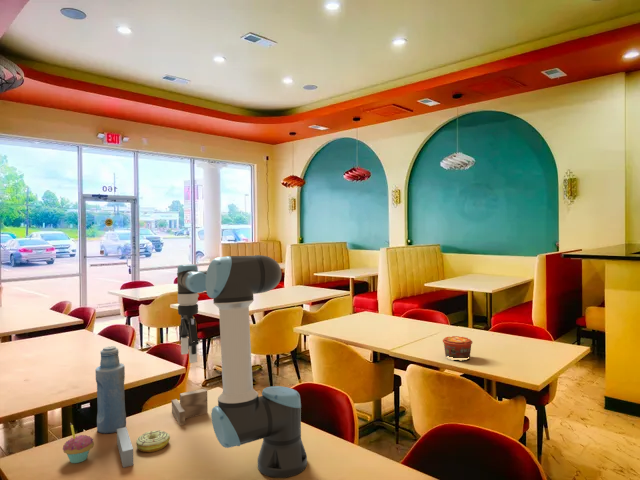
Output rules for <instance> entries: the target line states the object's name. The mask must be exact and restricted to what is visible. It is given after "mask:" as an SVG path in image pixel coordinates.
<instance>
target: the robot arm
mask: <svg viewBox="0 0 640 480" xmlns="http://www.w3.org/2000/svg"><path fill="white" fill-rule="evenodd" d="M176 276H177V304H178V306H177V314H178V315H180V325H179V333H178V334H179V335H180V354H181V355H188V357H189V360H188V361H189V364H194V363H198V345H199V342H200V341H199V336H198V331H197V330H198V329H197V319H196V318H194V315H197V314H198V313H199V304H198V303H199V299H198V298H199V297H200V294H201V293H204V292H206V296H208V297H209V298H211V299H213V305H214V306H216V307H217V309H218V313H219V333H220V355H221V358H220V359H221V377H222V380H221V381H222V392H221V394H220V395H219V396H218V397H217V405H215V406H214V407H213V408H212V409H211V415H210V416H211V417H210V418H211V423H212V424H211V425H212V428H213V431H214V434H215V437H216V439H217V441H218V442H219V444H220V445H221V446H222V447H223V448H227V449H229V448H233V447H240V446H241V445H246V444H249V443H252V442H256V441H259V440H262V443H261V446H260V450H259V453H258V456H257V468H258V471H259V472H260V473H261V474H262V475H265V476H267V477H270V478H274V479H275V478H277V479H278V478H279V479H281V478H283V479H284V478H290V477H294V476H296V475H299V474H300V473H302V472H304V470H305V469H306V467H307V466H308V455H307V452H306V448H305V446H304V443H303V440H302V423H301V422H302V418H301V417H302V416H301V415H302V414H301V413H302V409H301V408H302V403H301V402H302V401H301V395H300V393H299V392H298V391H297V390H296V389H293V388H290V387H286V386H281V385H276V386H273V385H272V386H267V387H265V388H263V389H262V392H261V395H260V396H259V392H257V391H256V390H255V389H254V387H253V383H254V382H253V367H252V366H253V364H252V345H251V342H252V341H251V329H250V328H251V327H250V324H251V323H250V306H251V304H253V302H254V300H255V299H254V295H255V294H262V293H263V294H264V293H266V292H269V291H272V290H274V289H275V288H276V287H277V286H278V285H279V283H280V281H281V280H282V268H281V265H280V264H279V263H278V262H277V260H275V259H274V258H272V257H271V256H268V255H260V254H258V255H257V254H256V255H230V256H229V255H227V256H220V257H215V258H213V259H212V260H211V261H210V263H209V265H208V267H207V270H198V265H197V264H193V263H192V264H191V263H190V264H189V263H188V264H185V263H184V264H180V265H178V266H177V273H176ZM198 293H200V294H198Z"/></svg>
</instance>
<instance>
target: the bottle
mask: <svg viewBox="0 0 640 480" xmlns="http://www.w3.org/2000/svg"><path fill="white" fill-rule="evenodd" d="M119 352H120V351H119V348H117V347H116V346H114V345H113V346H105V347H103V348H102V350H100V363H99V366H97V367H96V368H95V382H96V398H97V399H96V400H97V403H96V404H97V414H96V431H97V432H98V433H100V434H112V433H117V429H119V428H124V427H127V413H126V403H125V402H126V401H125V400H126V399H125V398H126V397H125V379H126V375H125V374H126V373H125V371H126V370H125V365H124V363H121V362H120V358H119V357H120V356H119Z"/></svg>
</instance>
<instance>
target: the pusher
mask: <svg viewBox="0 0 640 480" xmlns="http://www.w3.org/2000/svg"><path fill="white" fill-rule="evenodd" d="M208 412H209V411H208V389H206V388H201V389H197V390H191V391H185V392H182V393H181V392H180V393H179V400H178V399H177V398H175V399H171V414H172V415H173V417H174V419H175V420H176V422H177V423H178V425H179V426H184V425H186V419H188V418H189V419H190V418H193V417H196V416H201V415H202V414H203V415H207V414H208Z"/></svg>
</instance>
